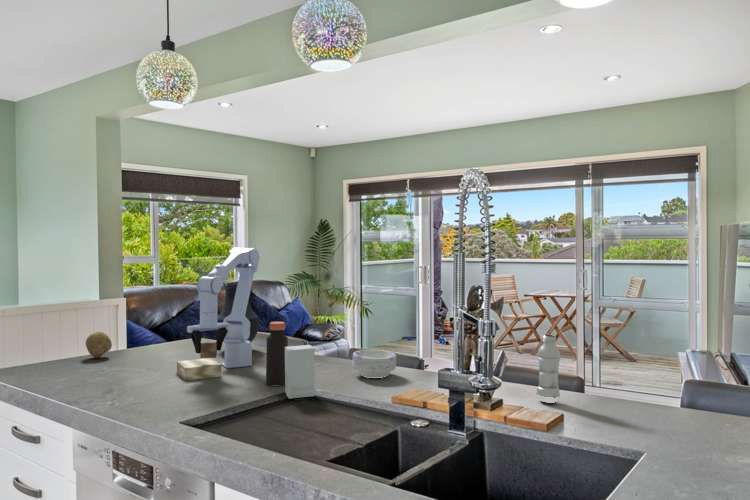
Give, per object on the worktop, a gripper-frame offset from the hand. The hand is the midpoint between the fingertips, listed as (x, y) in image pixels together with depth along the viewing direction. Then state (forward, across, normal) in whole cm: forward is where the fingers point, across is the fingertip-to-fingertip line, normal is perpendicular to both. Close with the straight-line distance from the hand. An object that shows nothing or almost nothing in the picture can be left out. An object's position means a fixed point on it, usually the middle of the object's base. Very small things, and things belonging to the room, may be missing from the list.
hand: (208, 351), depth 194 cm
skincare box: (+9, -10, +39) cm, 41 cm away
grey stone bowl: (+9, -44, +36) cm, 57 cm away
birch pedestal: (+8, +1, -4) cm, 9 cm away
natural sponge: (+9, +18, -53) cm, 57 cm away
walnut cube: (+2, 0, 0) cm, 2 cm away
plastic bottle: (+9, -61, +93) cm, 111 cm away
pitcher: (+9, -32, -35) cm, 48 cm away
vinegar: (+9, -12, +24) cm, 28 cm away
